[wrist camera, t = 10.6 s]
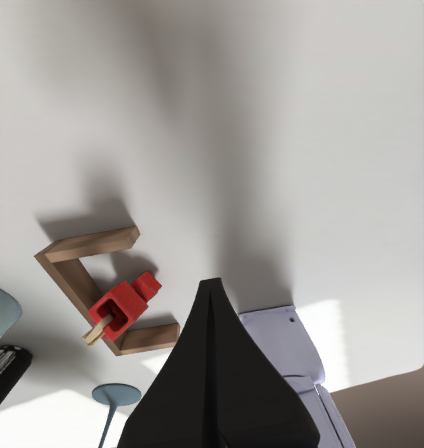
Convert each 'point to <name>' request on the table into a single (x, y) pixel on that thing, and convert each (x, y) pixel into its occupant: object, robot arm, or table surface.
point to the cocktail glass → (115, 400)
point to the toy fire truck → (120, 308)
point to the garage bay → (88, 291)
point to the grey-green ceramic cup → (8, 312)
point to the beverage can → (12, 367)
